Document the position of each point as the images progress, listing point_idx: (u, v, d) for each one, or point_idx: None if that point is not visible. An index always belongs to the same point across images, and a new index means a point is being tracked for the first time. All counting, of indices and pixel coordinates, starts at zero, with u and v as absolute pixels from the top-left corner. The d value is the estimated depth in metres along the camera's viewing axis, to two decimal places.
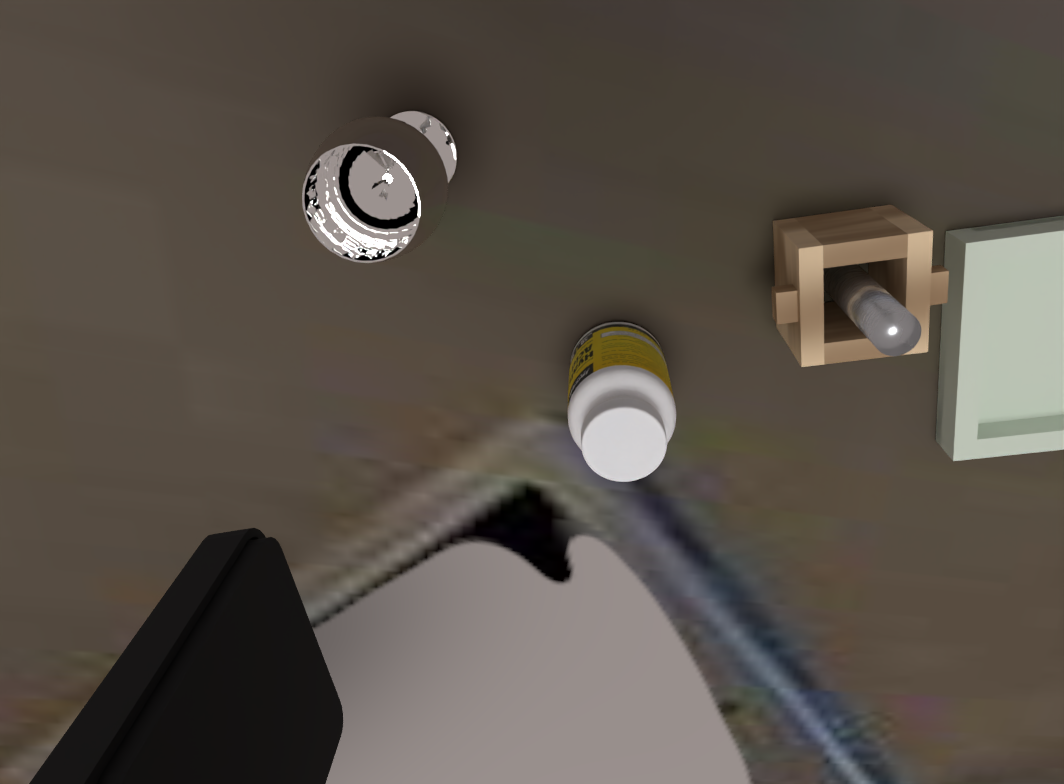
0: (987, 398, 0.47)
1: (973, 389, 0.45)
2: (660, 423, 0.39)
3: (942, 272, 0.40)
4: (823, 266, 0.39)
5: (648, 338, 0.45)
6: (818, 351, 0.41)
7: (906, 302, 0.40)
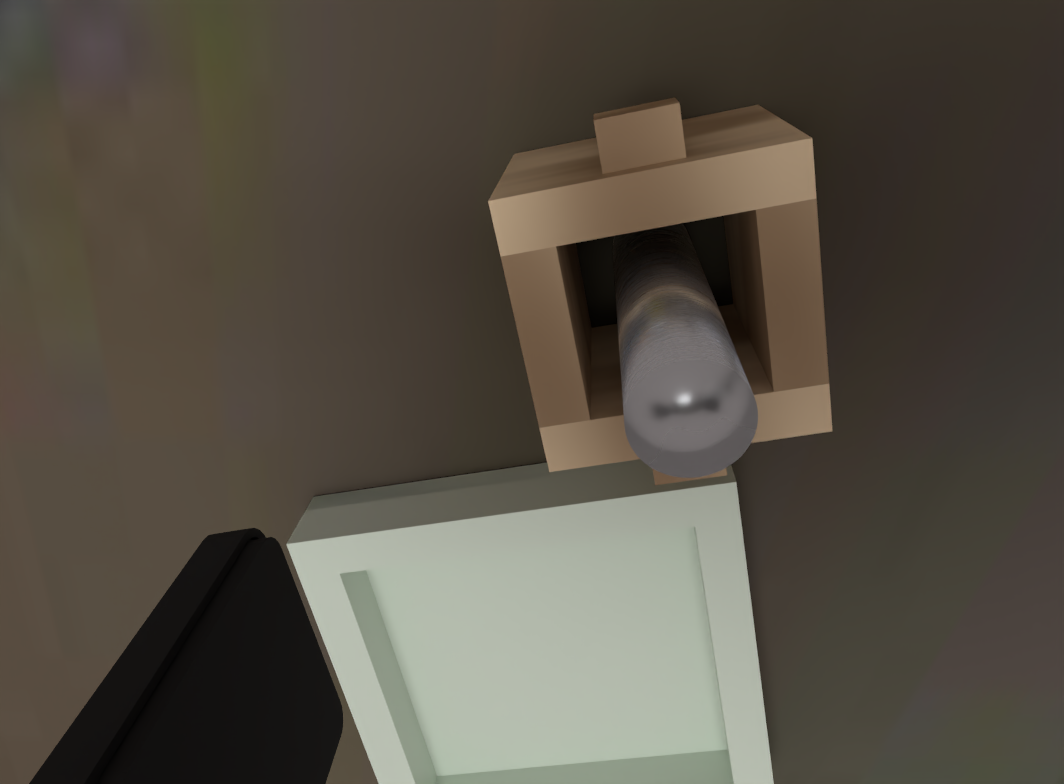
0: (414, 564, 0.26)
1: (441, 548, 0.23)
2: None
3: None
4: (760, 209, 0.16)
5: None
6: (533, 236, 0.16)
7: None
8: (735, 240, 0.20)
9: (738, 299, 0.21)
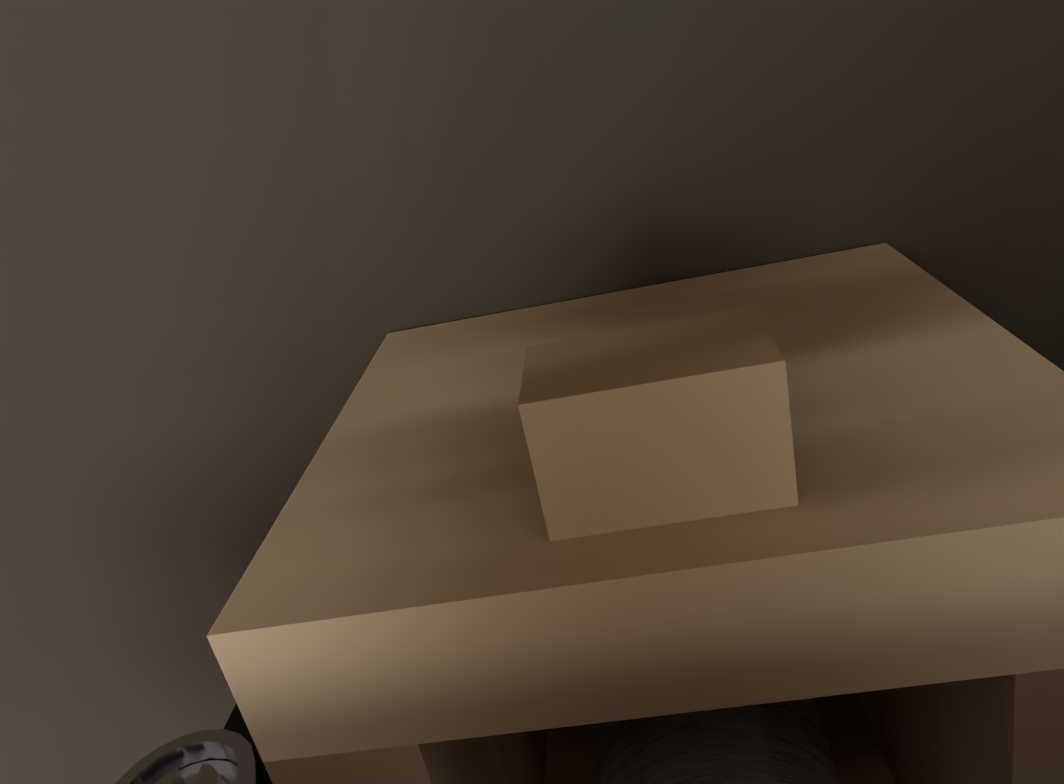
0: None
1: None
2: None
3: None
4: (1032, 674, 0.05)
5: None
6: (351, 719, 0.06)
7: None
8: None
9: None
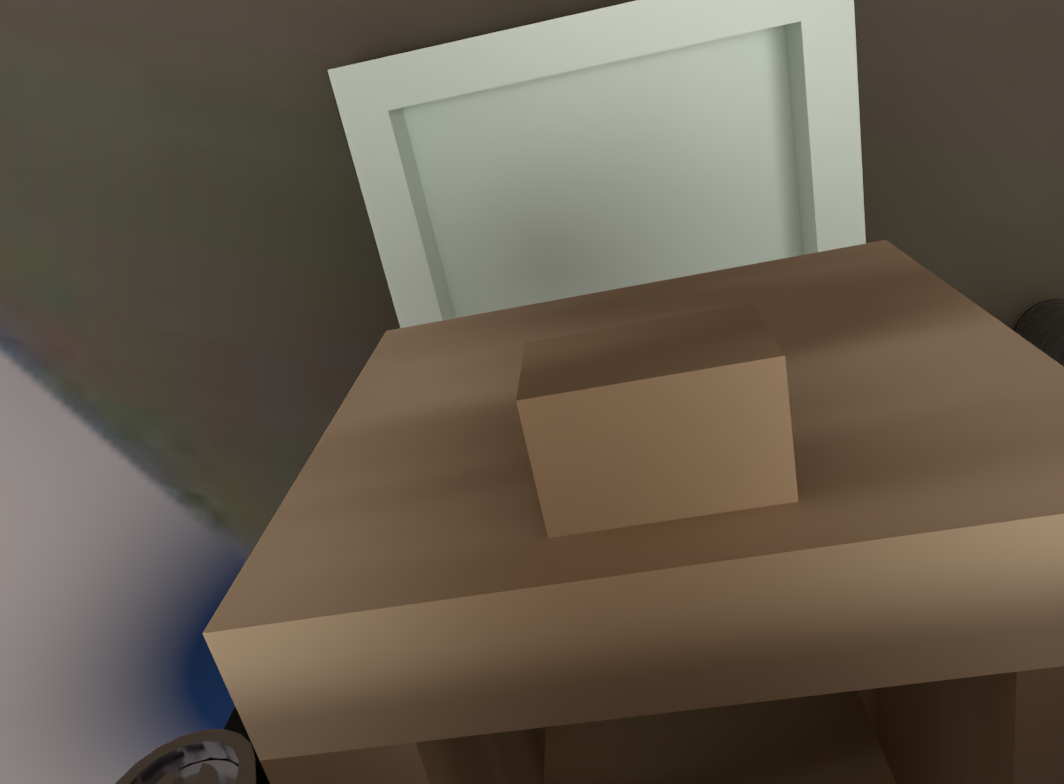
0: (743, 95, 0.22)
1: (826, 152, 0.21)
2: None
3: None
4: (1033, 672, 0.05)
5: None
6: (348, 717, 0.06)
7: None
8: None
9: None
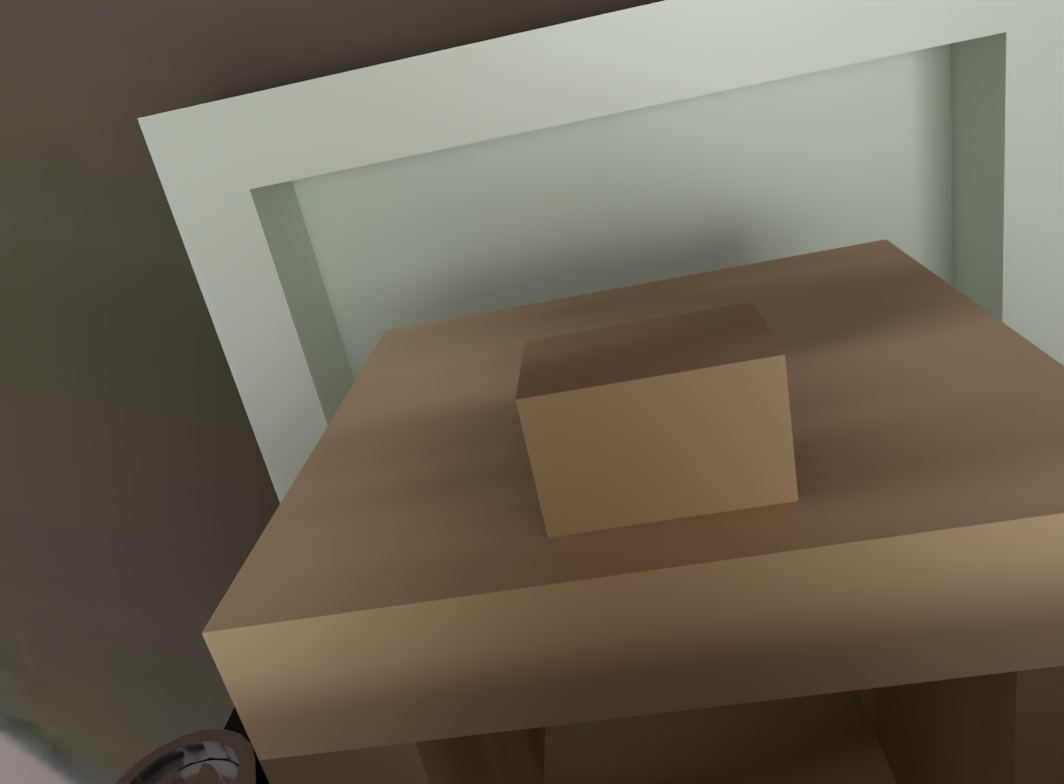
0: (870, 157, 0.13)
1: (1031, 265, 0.12)
2: None
3: None
4: (1033, 672, 0.05)
5: None
6: (348, 717, 0.06)
7: None
8: None
9: None
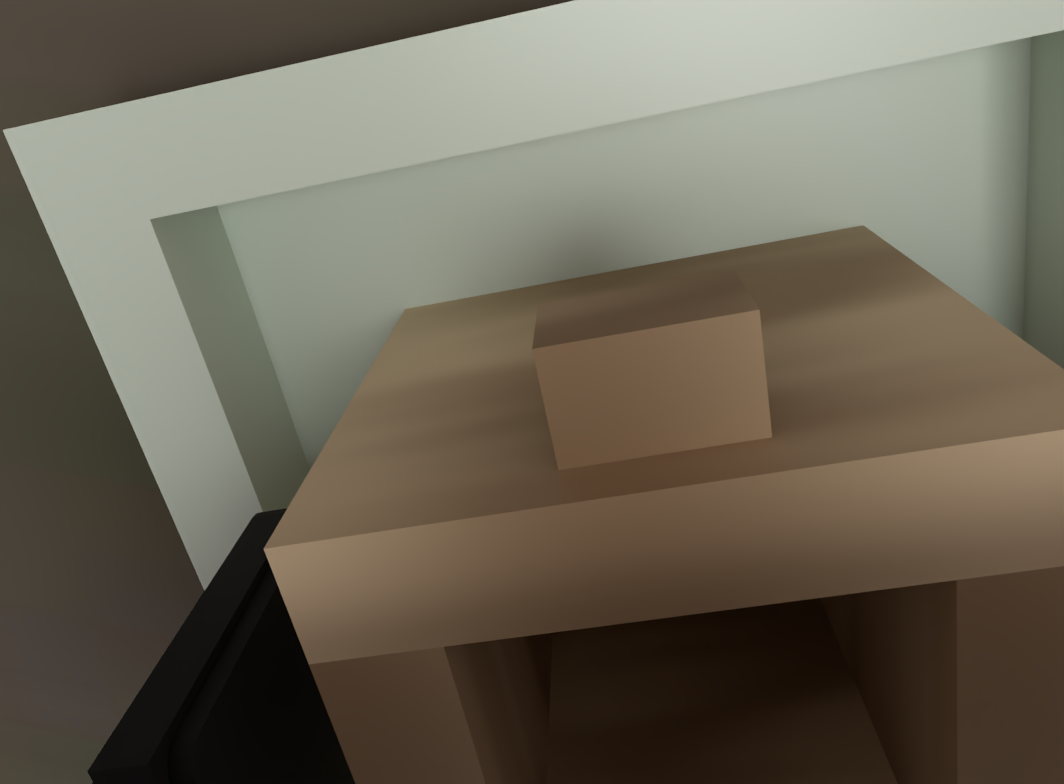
0: (927, 175, 0.10)
1: None
2: None
3: None
4: (970, 580, 0.06)
5: None
6: (386, 624, 0.06)
7: None
8: None
9: None
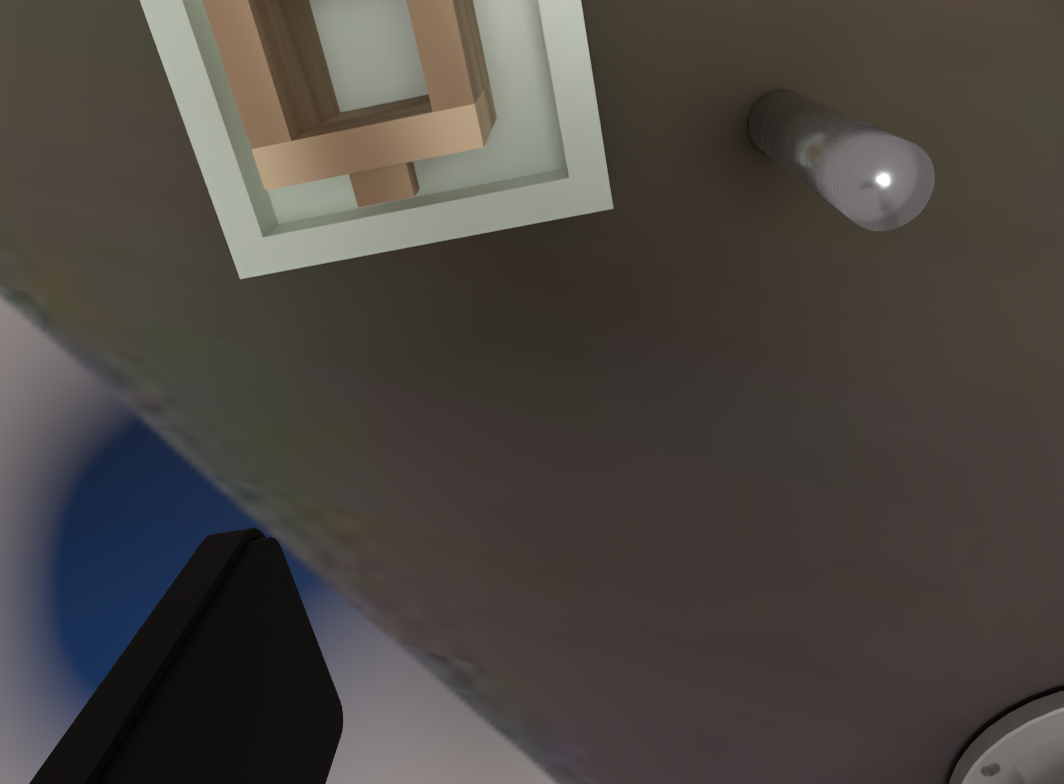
0: None
1: None
2: None
3: (409, 186, 0.23)
4: None
5: None
6: None
7: (350, 130, 0.22)
8: None
9: None
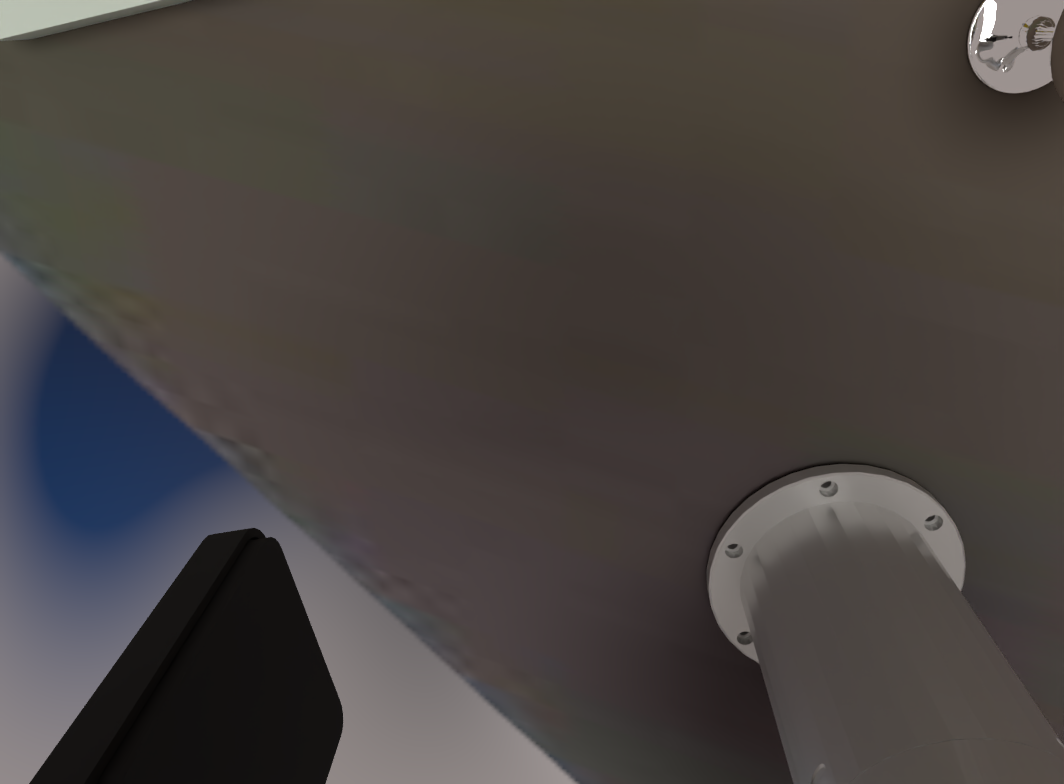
0: None
1: None
2: None
3: None
4: None
5: None
6: None
7: None
8: None
9: None
